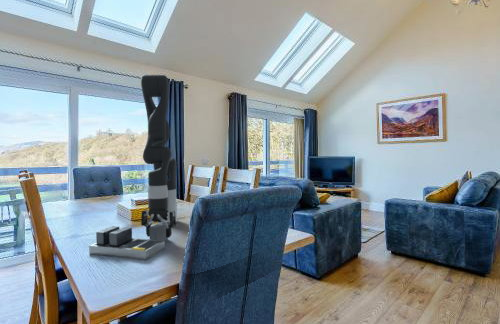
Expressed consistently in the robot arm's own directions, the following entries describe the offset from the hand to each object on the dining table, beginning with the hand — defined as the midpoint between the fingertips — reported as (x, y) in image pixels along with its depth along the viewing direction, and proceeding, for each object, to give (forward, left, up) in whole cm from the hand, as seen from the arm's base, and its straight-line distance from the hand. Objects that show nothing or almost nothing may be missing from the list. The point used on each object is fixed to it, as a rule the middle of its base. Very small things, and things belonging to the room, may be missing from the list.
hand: (158, 236), depth 109 cm
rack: (+12, -5, -2) cm, 13 cm away
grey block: (0, 0, -2) cm, 2 cm away
